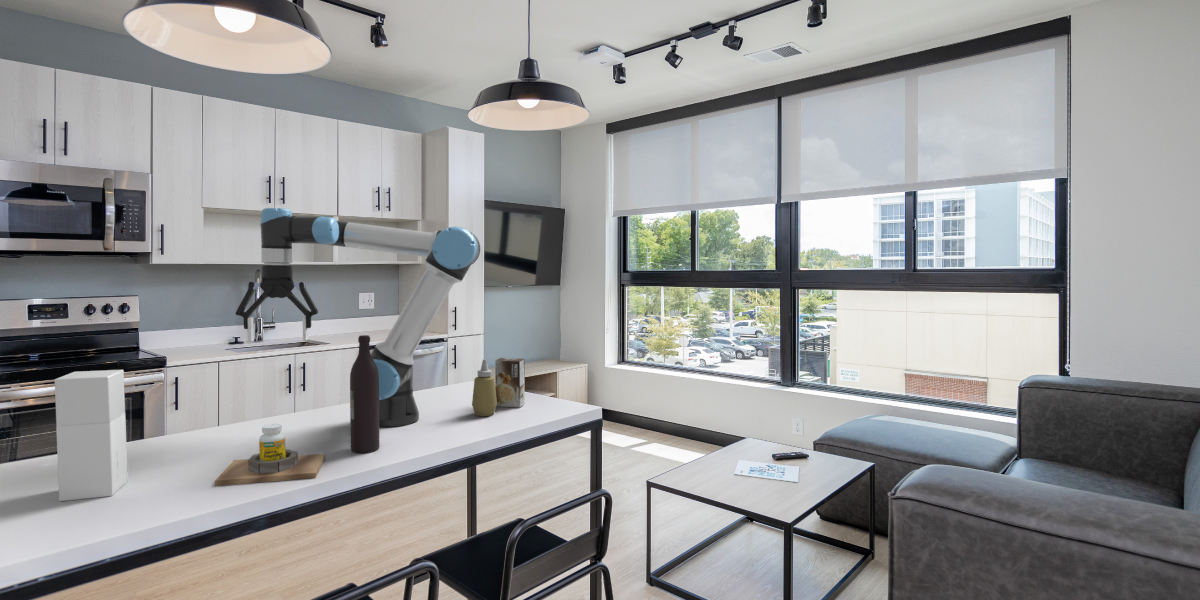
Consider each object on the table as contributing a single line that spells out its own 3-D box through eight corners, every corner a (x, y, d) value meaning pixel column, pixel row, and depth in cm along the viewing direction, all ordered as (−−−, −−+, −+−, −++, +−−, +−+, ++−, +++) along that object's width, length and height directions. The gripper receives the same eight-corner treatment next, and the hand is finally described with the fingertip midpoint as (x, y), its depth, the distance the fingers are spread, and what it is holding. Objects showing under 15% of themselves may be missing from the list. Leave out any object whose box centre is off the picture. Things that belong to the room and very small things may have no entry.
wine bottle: (366, 443, 161) (365, 333, 159) (385, 447, 158) (384, 335, 156) (344, 451, 155) (343, 336, 153) (364, 455, 152) (363, 338, 150)
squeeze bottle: (494, 417, 190) (494, 361, 189) (469, 417, 190) (469, 361, 189) (499, 411, 198) (499, 357, 197) (474, 411, 198) (475, 357, 197)
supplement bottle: (284, 460, 143) (283, 421, 142) (287, 467, 138) (286, 426, 138) (258, 465, 140) (257, 424, 139) (260, 471, 135) (259, 430, 135)
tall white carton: (112, 496, 123) (108, 376, 122) (58, 501, 120) (53, 379, 118) (128, 481, 131) (124, 369, 130) (78, 486, 128) (73, 371, 127)
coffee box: (525, 403, 210) (525, 358, 209) (520, 407, 203) (520, 361, 202) (500, 402, 211) (500, 357, 210) (494, 406, 205) (494, 360, 204)
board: (324, 458, 149) (324, 444, 149) (315, 477, 136) (315, 462, 135) (234, 464, 143) (233, 450, 143) (215, 486, 130) (214, 469, 129)
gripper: (328, 264, 173) (328, 337, 174) (230, 263, 165) (231, 339, 167) (324, 265, 165) (325, 341, 167) (221, 263, 158) (223, 343, 159)
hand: (278, 340), depth 167 cm, fingers open, 13 cm apart
